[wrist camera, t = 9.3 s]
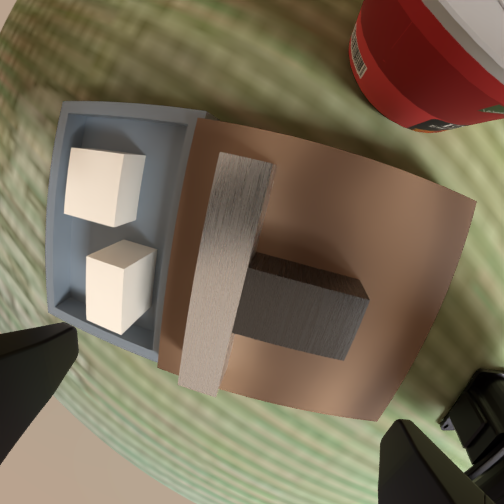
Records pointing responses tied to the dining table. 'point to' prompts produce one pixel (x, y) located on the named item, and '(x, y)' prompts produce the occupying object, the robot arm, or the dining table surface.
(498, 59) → the canned food
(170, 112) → the box
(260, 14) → the dining table surface
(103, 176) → the tile
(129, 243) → the tile
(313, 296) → the scraper
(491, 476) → the robot arm
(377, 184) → the plate
